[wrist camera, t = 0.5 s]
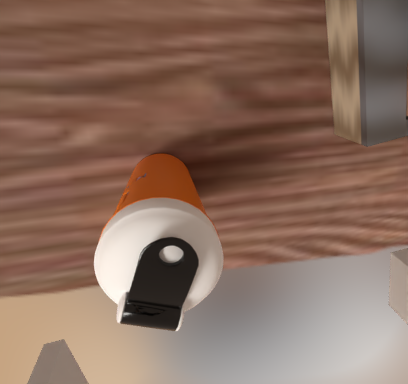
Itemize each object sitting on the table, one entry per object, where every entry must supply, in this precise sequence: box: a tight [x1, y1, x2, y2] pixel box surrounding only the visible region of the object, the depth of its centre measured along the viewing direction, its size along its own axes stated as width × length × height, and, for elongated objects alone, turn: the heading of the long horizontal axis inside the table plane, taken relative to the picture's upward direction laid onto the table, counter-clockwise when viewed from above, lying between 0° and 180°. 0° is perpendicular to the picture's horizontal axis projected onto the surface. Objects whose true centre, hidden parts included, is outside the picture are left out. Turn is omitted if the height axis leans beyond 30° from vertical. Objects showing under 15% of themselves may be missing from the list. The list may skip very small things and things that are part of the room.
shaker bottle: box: [94, 154, 223, 331], centre depth 28 cm, size 9×9×20 cm
